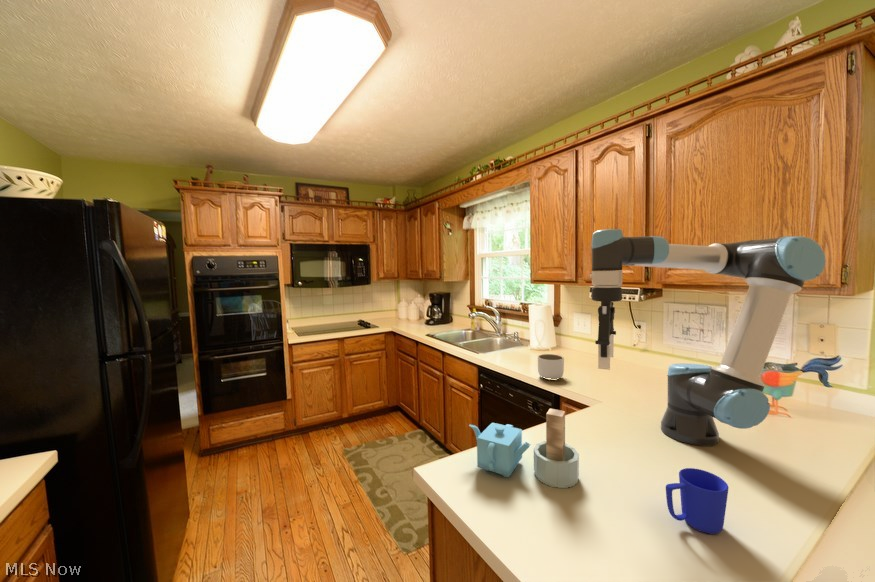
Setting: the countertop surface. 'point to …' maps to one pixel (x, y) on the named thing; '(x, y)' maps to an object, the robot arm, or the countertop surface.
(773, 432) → the countertop surface
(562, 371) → the planter
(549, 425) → the wooden post
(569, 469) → the grey round bowl
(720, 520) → the mug
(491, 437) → the teapot
